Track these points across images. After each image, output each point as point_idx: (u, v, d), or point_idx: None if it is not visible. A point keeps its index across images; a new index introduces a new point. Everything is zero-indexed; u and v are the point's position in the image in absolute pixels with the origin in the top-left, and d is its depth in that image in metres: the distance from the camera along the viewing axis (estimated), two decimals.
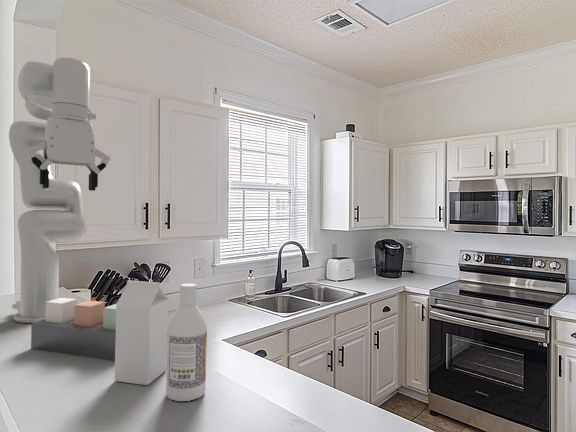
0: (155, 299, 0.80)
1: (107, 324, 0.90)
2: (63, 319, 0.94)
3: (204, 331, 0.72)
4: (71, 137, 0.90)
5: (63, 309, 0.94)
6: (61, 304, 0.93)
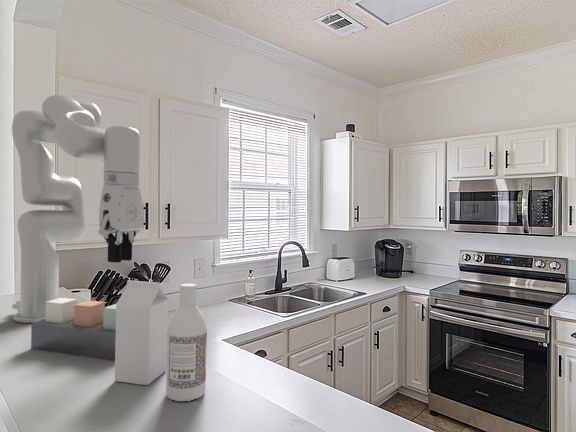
0: (155, 299, 0.80)
1: (107, 324, 0.90)
2: (63, 319, 0.94)
3: (204, 331, 0.72)
4: None
5: (63, 309, 0.94)
6: (61, 304, 0.93)
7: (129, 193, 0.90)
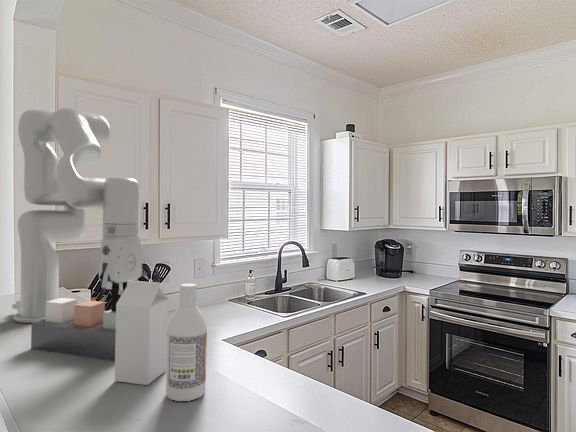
0: (155, 299, 0.80)
1: (107, 328, 0.90)
2: (63, 319, 0.94)
3: (204, 331, 0.72)
4: None
5: (63, 309, 0.94)
6: (61, 304, 0.93)
7: (128, 244, 0.90)
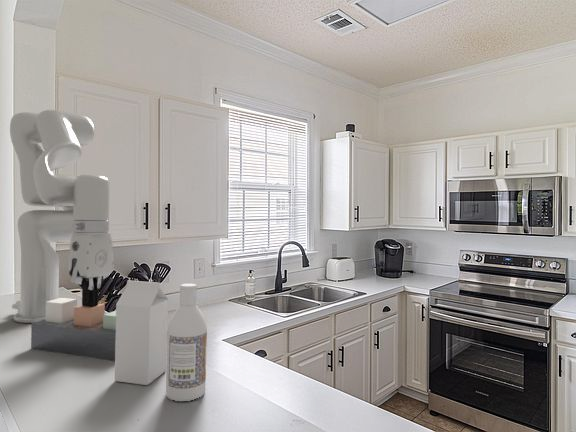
0: (155, 299, 0.80)
1: None
2: (63, 319, 0.94)
3: (204, 331, 0.72)
4: None
5: (63, 309, 0.94)
6: (61, 304, 0.93)
7: (98, 240, 0.92)
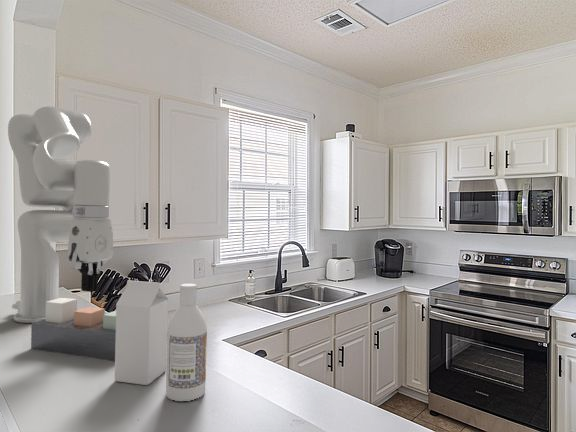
0: (155, 299, 0.80)
1: None
2: (63, 319, 0.94)
3: (204, 331, 0.72)
4: None
5: (63, 309, 0.94)
6: (61, 304, 0.93)
7: (98, 225, 0.92)
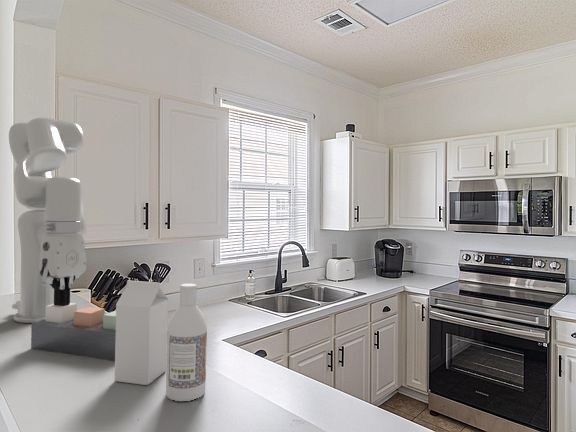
0: (155, 299, 0.80)
1: None
2: None
3: (204, 331, 0.72)
4: None
5: (63, 314, 0.94)
6: (61, 308, 0.93)
7: (69, 241, 0.94)
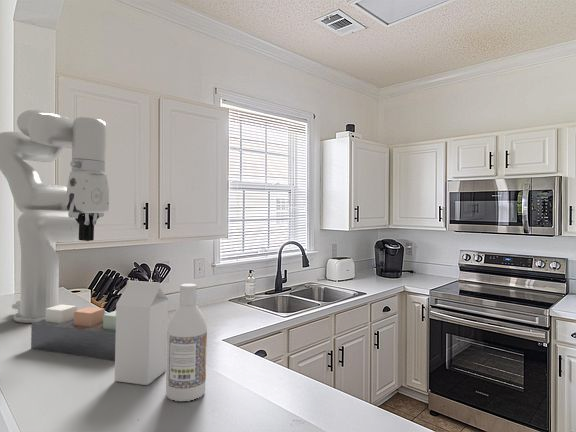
0: (155, 299, 0.80)
1: None
2: None
3: (204, 331, 0.72)
4: None
5: (63, 316, 0.94)
6: (61, 311, 0.93)
7: (94, 179, 0.99)
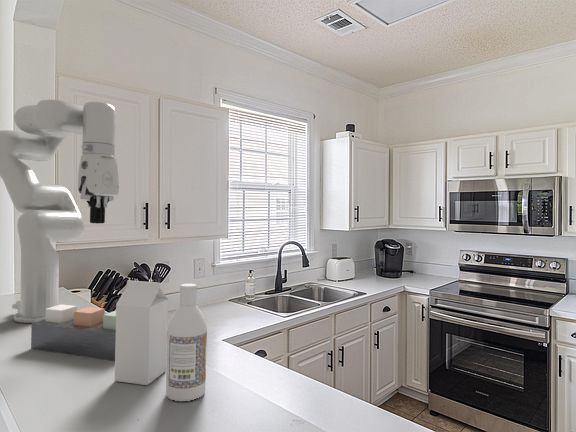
0: (155, 299, 0.80)
1: None
2: None
3: (204, 331, 0.72)
4: None
5: (63, 316, 0.94)
6: (61, 311, 0.93)
7: (105, 162, 1.01)
